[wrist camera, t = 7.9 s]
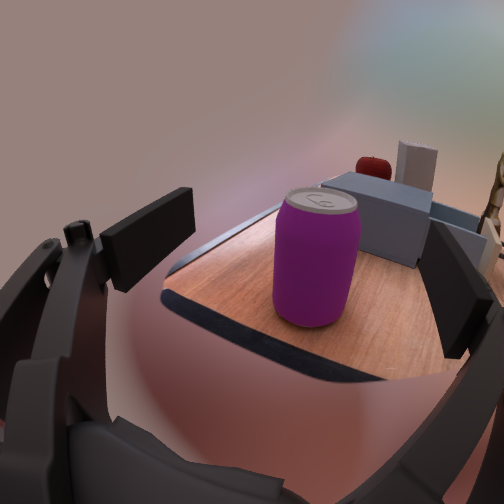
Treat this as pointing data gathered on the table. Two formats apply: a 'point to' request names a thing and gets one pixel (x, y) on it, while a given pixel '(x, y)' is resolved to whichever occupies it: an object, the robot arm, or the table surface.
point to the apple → (374, 167)
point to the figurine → (494, 200)
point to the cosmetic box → (416, 165)
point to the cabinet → (387, 215)
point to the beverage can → (315, 255)
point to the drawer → (469, 236)
